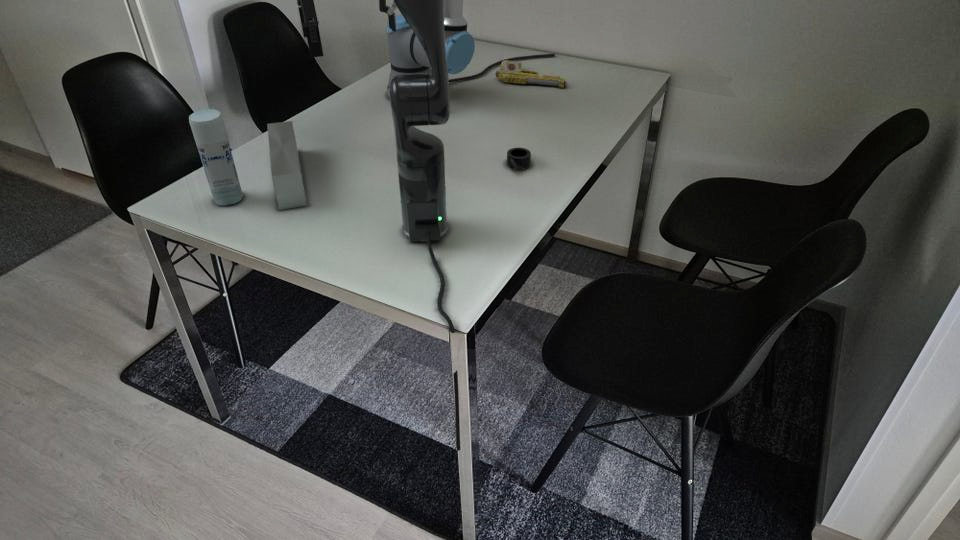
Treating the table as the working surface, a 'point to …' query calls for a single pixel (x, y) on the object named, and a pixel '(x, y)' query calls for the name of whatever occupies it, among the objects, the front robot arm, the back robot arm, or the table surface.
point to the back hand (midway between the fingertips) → (313, 46)
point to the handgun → (526, 75)
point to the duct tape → (518, 158)
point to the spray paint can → (216, 156)
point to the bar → (285, 166)
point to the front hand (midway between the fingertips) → (412, 30)
